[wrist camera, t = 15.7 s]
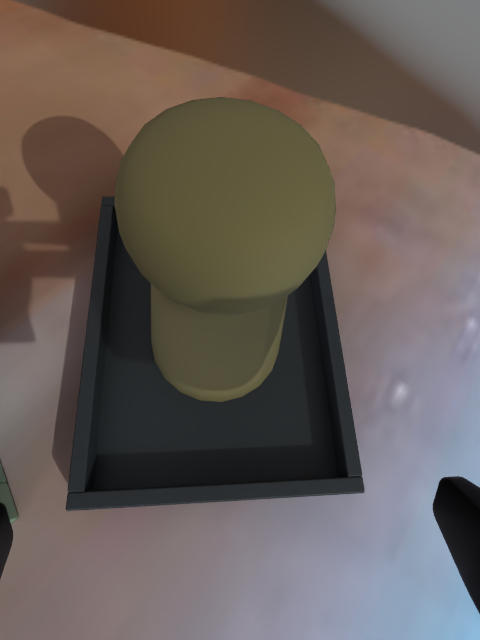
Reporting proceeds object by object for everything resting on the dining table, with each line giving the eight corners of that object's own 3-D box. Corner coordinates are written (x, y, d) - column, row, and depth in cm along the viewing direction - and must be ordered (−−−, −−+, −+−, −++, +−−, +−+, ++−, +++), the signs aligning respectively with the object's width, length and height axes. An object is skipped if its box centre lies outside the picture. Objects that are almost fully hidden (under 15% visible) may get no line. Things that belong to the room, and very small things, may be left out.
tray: (350, 491, 16) (365, 492, 14) (79, 507, 15) (64, 510, 13) (309, 220, 21) (318, 200, 20) (109, 217, 20) (101, 195, 19)
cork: (134, 305, 18) (41, 82, 8) (247, 266, 19) (295, 34, 9) (178, 424, 16) (130, 334, 6) (301, 371, 17) (436, 224, 7)
